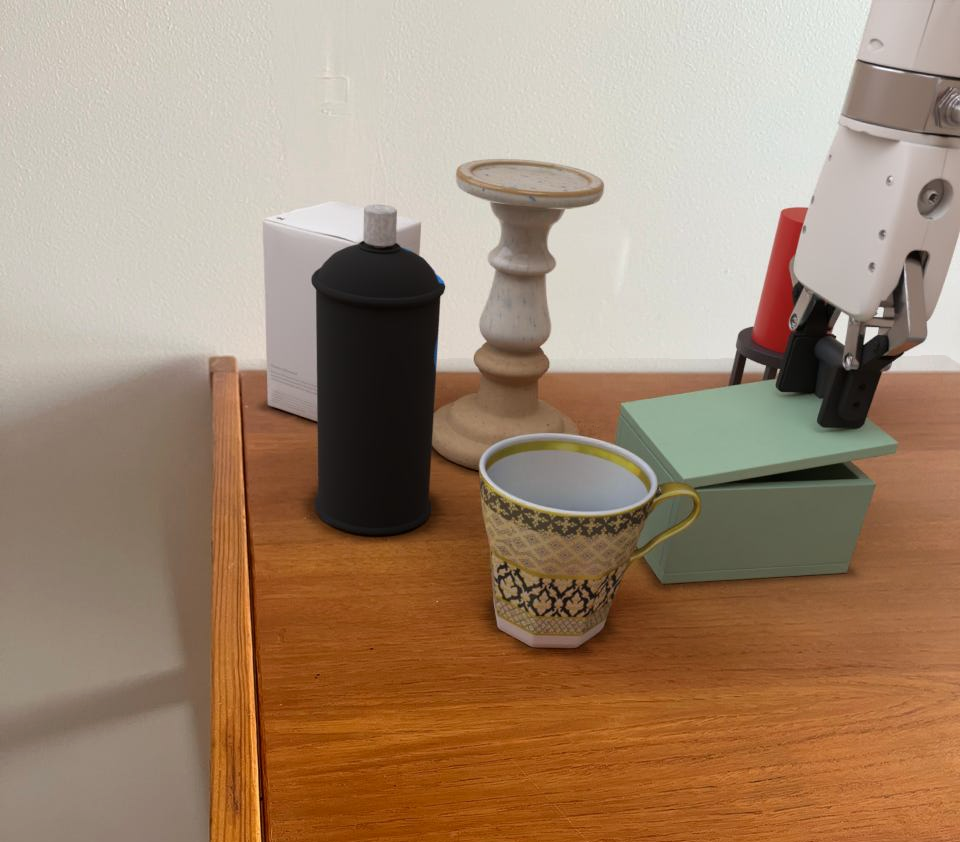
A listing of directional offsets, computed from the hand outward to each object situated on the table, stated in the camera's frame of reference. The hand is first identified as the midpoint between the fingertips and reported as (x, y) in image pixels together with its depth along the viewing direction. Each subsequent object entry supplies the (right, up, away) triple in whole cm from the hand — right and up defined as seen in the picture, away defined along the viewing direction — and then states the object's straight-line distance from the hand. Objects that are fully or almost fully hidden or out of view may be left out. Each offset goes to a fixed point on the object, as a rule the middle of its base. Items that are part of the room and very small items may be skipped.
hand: (817, 405), depth 69 cm
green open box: (-5, -8, +5) cm, 11 cm away
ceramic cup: (-17, -15, -6) cm, 23 cm away
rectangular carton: (-34, +4, +18) cm, 39 cm away
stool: (+4, +6, +25) cm, 26 cm away
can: (+5, +11, +22) cm, 25 cm away
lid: (-4, -2, 0) cm, 5 cm away
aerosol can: (-30, -6, +4) cm, 31 cm away
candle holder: (-21, 0, +14) cm, 25 cm away
